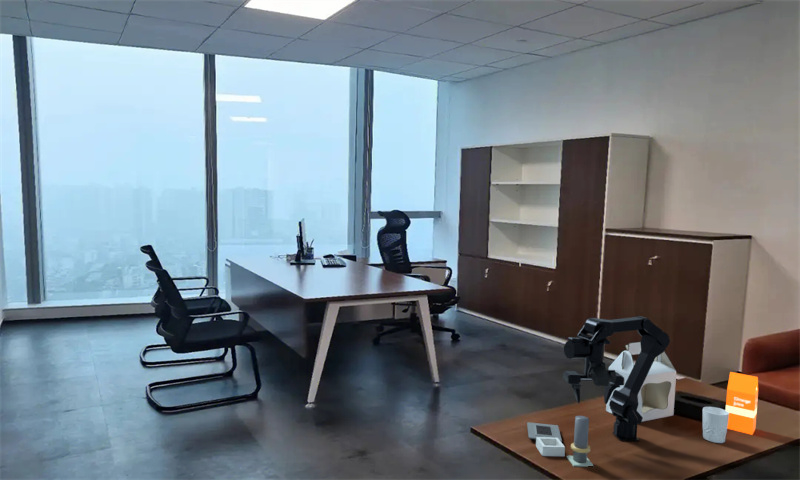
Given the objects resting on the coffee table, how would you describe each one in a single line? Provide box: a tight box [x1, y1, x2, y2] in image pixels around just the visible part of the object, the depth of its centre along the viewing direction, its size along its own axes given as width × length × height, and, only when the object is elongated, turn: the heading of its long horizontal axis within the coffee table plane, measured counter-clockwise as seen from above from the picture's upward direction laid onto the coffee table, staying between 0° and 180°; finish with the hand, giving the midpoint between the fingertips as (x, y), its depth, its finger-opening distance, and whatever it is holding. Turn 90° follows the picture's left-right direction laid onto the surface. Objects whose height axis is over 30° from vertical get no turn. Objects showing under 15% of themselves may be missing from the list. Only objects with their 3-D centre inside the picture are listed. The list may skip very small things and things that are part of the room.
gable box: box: [605, 341, 677, 423], centre depth 210 cm, size 22×13×28 cm, turn 116°
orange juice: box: [725, 371, 759, 436], centre depth 199 cm, size 8×9×20 cm
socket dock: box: [535, 437, 566, 457], centre depth 174 cm, size 7×7×3 cm
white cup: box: [702, 406, 729, 444], centre depth 188 cm, size 8×8×10 cm
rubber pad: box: [566, 455, 594, 467], centre depth 168 cm, size 6×6×1 cm
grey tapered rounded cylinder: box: [570, 415, 591, 463], centre depth 167 cm, size 6×6×13 cm
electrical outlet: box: [526, 422, 563, 442], centre depth 186 cm, size 13×10×2 cm
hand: (591, 403), depth 182 cm, fingers open, 9 cm apart
